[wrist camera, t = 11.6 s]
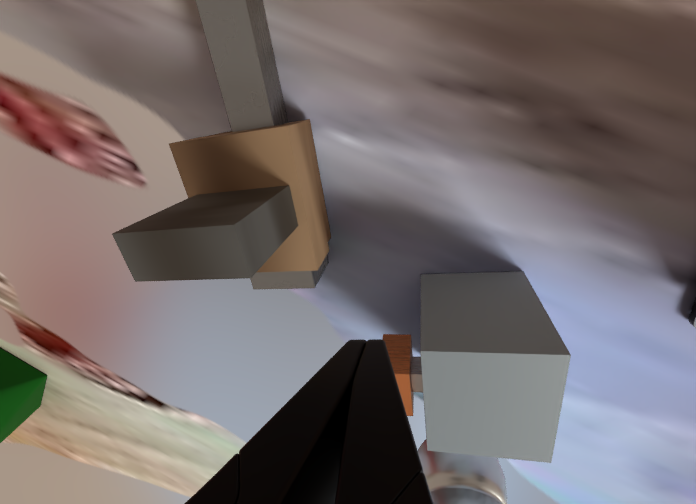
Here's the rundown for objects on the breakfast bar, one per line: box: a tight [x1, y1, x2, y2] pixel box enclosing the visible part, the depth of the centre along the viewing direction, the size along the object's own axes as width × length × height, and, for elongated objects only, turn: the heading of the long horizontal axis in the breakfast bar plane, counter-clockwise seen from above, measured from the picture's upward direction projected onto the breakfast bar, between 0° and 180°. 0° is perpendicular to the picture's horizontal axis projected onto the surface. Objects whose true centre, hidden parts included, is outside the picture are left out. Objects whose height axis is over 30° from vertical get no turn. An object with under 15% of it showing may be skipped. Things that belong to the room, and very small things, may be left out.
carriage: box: [112, 119, 331, 281], centre depth 16 cm, size 6×7×9 cm
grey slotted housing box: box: [421, 271, 571, 463], centre depth 19 cm, size 6×7×7 cm
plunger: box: [383, 334, 423, 416], centre depth 18 cm, size 7×3×3 cm, turn 100°
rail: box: [196, 0, 329, 289], centre depth 17 cm, size 4×21×3 cm, turn 10°
